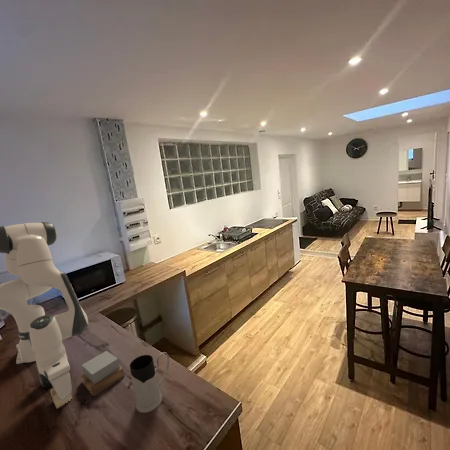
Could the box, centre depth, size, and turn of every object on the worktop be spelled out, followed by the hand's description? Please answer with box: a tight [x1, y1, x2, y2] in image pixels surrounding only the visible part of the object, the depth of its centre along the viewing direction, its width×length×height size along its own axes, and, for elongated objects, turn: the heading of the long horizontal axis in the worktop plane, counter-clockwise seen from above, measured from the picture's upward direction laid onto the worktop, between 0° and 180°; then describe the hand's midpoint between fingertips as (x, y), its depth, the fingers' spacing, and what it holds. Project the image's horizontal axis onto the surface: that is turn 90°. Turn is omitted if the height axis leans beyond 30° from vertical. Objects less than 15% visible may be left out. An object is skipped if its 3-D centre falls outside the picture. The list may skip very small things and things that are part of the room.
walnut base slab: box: [80, 365, 125, 397], centre depth 102 cm, size 12×12×4 cm
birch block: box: [49, 387, 73, 410], centre depth 94 cm, size 5×5×5 cm
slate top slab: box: [81, 350, 121, 384], centre depth 102 cm, size 10×10×4 cm
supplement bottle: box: [36, 366, 53, 388], centre depth 104 cm, size 7×7×12 cm
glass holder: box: [129, 351, 170, 413], centre depth 89 cm, size 9×14×15 cm, turn 135°
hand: (61, 395), depth 94 cm, fingers closed on birch block, 5 cm apart
